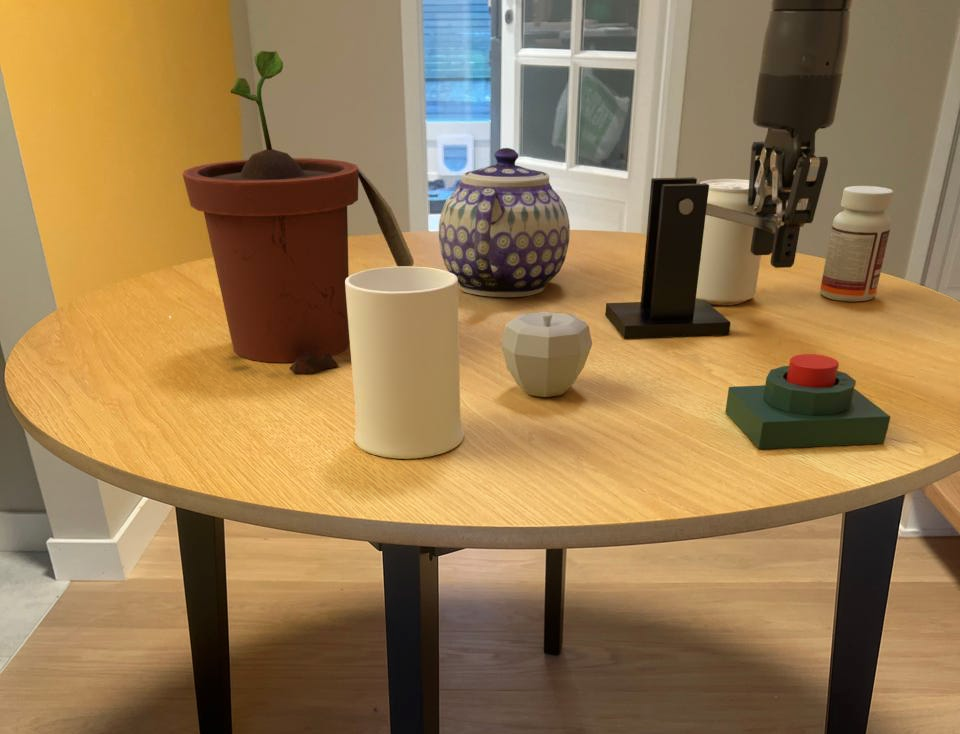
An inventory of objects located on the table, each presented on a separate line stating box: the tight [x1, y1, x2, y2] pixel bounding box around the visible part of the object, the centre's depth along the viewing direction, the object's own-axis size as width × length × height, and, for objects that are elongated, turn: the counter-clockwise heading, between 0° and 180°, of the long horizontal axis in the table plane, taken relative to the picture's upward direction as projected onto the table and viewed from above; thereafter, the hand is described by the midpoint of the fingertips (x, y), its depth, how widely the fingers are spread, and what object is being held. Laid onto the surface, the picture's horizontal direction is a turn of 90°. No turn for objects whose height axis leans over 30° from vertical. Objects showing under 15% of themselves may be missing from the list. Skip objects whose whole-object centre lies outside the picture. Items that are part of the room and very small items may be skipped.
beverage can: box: [696, 178, 762, 306], centre depth 105 cm, size 8×8×12 cm
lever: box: [658, 201, 777, 235], centre depth 94 cm, size 13×5×2 cm, turn 96°
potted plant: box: [182, 50, 415, 374], centre depth 87 cm, size 18×22×25 cm
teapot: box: [438, 147, 571, 298], centre depth 109 cm, size 25×15×15 cm, turn 165°
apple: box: [499, 311, 593, 398], centre depth 81 cm, size 8×8×7 cm
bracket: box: [604, 176, 731, 340], centre depth 96 cm, size 11×9×14 cm
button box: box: [724, 365, 891, 450], centre depth 74 cm, size 10×8×4 cm
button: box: [786, 353, 840, 388], centre depth 73 cm, size 4×4×2 cm
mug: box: [345, 265, 465, 460], centre depth 72 cm, size 12×8×12 cm
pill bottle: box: [820, 185, 894, 303], centre depth 106 cm, size 6×6×11 cm
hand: (771, 259), depth 97 cm, fingers closed on lever, 5 cm apart
